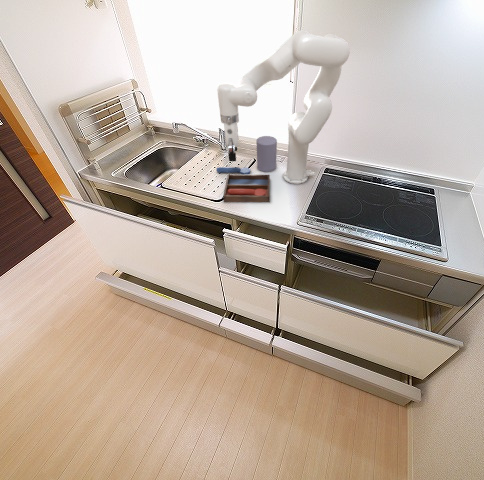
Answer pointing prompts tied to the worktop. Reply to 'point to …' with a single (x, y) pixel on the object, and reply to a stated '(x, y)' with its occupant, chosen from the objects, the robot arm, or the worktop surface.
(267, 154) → the container
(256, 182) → the cutlery tray
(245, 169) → the blue spoon
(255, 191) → the red spoon
